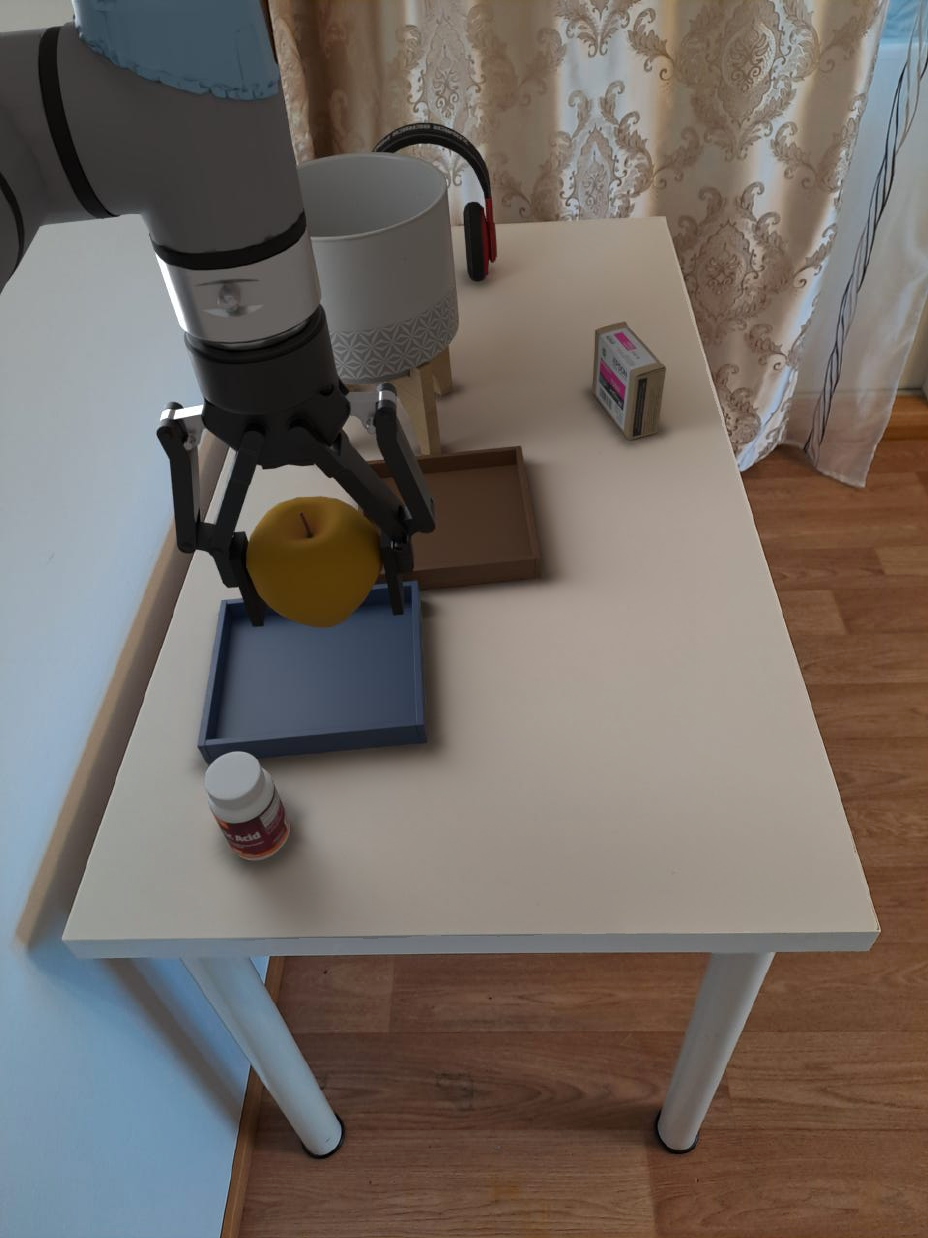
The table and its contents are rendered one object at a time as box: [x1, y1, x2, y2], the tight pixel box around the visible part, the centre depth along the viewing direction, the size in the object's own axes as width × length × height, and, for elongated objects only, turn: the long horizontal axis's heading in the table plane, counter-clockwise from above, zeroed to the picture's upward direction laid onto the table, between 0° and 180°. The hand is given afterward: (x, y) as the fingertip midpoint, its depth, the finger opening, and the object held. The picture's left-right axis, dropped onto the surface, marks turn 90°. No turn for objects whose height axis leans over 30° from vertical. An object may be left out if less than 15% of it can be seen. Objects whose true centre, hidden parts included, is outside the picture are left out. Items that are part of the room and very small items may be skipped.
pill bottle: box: [203, 752, 291, 861], centre depth 66 cm, size 5×5×8 cm
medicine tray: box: [357, 445, 542, 591], centre depth 90 cm, size 17×17×3 cm
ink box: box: [591, 321, 667, 441], centre depth 99 cm, size 10×4×8 cm, turn 18°
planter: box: [296, 151, 460, 455], centre depth 95 cm, size 19×19×26 cm
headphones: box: [371, 122, 498, 282], centre depth 118 cm, size 18×10×20 cm, turn 92°
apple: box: [246, 495, 383, 628], centre depth 61 cm, size 9×9×9 cm
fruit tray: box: [197, 581, 428, 765], centre depth 78 cm, size 18×16×3 cm
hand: (329, 606), depth 64 cm, fingers closed on apple, 9 cm apart
